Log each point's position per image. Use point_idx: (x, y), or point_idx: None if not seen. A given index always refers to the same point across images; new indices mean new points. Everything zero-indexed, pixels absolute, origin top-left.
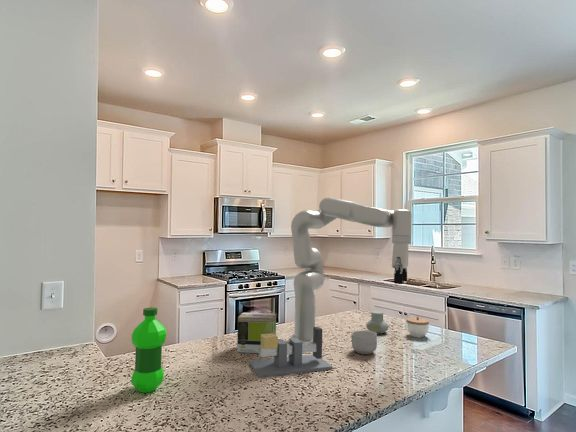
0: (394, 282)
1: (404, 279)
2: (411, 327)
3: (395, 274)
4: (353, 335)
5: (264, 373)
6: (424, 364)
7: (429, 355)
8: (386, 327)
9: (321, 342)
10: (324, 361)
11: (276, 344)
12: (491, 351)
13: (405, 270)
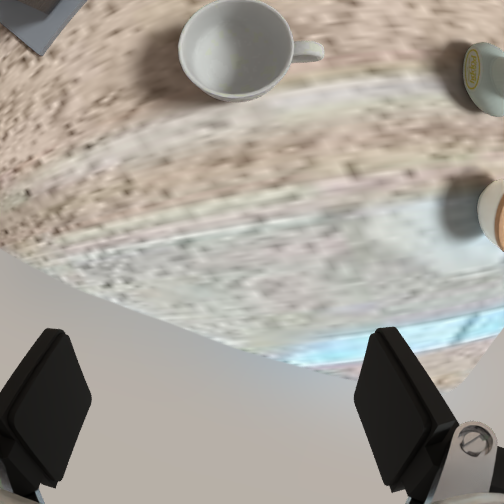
0: (45, 335)
1: (363, 395)
2: (491, 197)
3: (3, 416)
4: (194, 16)
5: None
6: (219, 262)
7: (316, 263)
8: (486, 110)
9: (23, 2)
10: (62, 18)
11: None
12: None
13: (413, 492)
